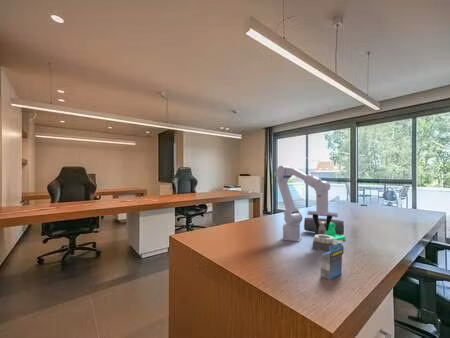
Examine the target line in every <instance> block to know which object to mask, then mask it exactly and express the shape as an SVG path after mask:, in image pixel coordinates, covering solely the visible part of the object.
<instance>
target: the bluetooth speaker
mask: <svg viewBox="0 0 450 338" xmlns="http://www.w3.org/2000/svg"><path fill="white" fill-rule="evenodd" d="M318 221H324V222H327V218H321V217H320V218H319V217H318ZM330 222H333V223H335V231H336V234H340V235H344V234H345V227H344V226H345V225H344V220H339V219H333V218H332V219H331V221H330ZM303 228H304V231H307V232H312V233H314V234H315V235H318V234H319V233H318V230H317V227H316V224H315V221H314V219H313V217H304V223H303ZM344 236H345V235H344Z"/></svg>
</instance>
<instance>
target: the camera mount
mask: <svg viewBox="0 0 450 338" xmlns="http://www.w3.org/2000/svg"><path fill="white" fill-rule="evenodd" d="M323 235H329V236H332V237H333V239H334V240H342V241H343V242H344V240H346V238H347V235H340V234H336V231H335V223H333V222H330V224H329V228H328V231H327V234H323Z"/></svg>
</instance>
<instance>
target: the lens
mask: <svg viewBox="0 0 450 338" xmlns="http://www.w3.org/2000/svg"><path fill="white" fill-rule="evenodd" d="M318 233H319V234H327V222H324V221H318Z"/></svg>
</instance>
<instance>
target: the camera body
mask: <svg viewBox="0 0 450 338" xmlns="http://www.w3.org/2000/svg"><path fill="white" fill-rule="evenodd" d="M339 243H342V254H343V253H344V240H343V241H342V240H334V239H333V237H332V236H329V235H323V234H315V235H314V238H313V240H312V249H315V250H322V251H327V252H329V251H330V248H329V246H333V245H336V244H339ZM336 249H338V247H336V248H334V250H336Z"/></svg>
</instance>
